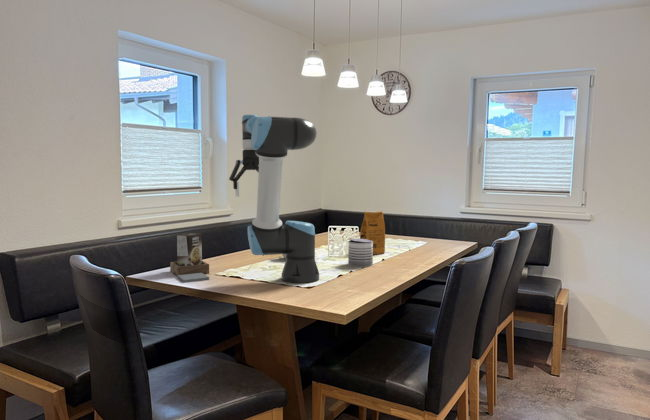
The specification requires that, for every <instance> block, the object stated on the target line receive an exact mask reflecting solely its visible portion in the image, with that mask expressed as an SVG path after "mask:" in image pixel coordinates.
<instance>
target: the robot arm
mask: <svg viewBox="0 0 650 420" xmlns="http://www.w3.org/2000/svg"><path fill="white" fill-rule="evenodd" d="M241 119H242V120H241V126H242V127H241V130H242V131H241V133H242V136H241V137H242V140H241V143H242V149H243V150H242V159H241V160H240V159H236V160H235V164H234V168H233V170H232V171H231V174H230V176H229V178H228V180H229V181H231V182H233V183H232V184H233V187H232V188H233V189H234V191H235V192H234V194H235V197H236V198H237V197H240V182H239V180H240V179H241V178H242V176H243V175H244V173H245V172H246V171H256V172H257V173H258V179H257V180H258V182H257V197H256V198H257V199H256V200H257V202H256V216H255V218H253V219H252V222H251V225H248V226H247V240H248V245H249V248H250V253H251V254H252V255H253V256H263V257H264V256H270V255H271V256H272V255H273V256H274V255H282V254H286V258H285V263H284V266H283V268H282V272H281V280H282V281H284V282H287V283H293V284H294V283H295V284H302V283H303V284H304V283H313V282H317V281H319V279H320V272H319V269H318V266H317V261H316V258H315V257H316V232H315V229H316V227H315V226H314V224H313V223H310V222H306V221H305V222H304V221H299V220H286V221H285V222H284V224H283V221H282V220H281V218H280V207H281V191H282V178H283V177H282V174H283V162H284V159H285V158H286V157H287V156H288V151H289V150H290V151H297V150H303V149H306V148H308V147H309V146H311V145H312V144H313V143H315V140H316V139H317V134H318V133H317V128H316V126H315V124H314V123H312V121H310V120H307V119H306V118H301V117H287V116H270V115H269V116H258V114H257V115H256V114H243V115H242V117H241ZM241 165H243V166H242V167H241ZM240 167H241V169H240ZM239 169H240V170H239Z"/></svg>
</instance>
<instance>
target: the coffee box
mask: <svg viewBox="0 0 650 420" xmlns="http://www.w3.org/2000/svg"><path fill="white" fill-rule="evenodd" d="M202 239H203V238H202V233H201V232H200V233H199V232H198V233H197V232H194V233H193V232H192V233H191V232H190V233H189V232H188V233H183V234H178V235H176V248H177V249H176V251H177V254H176V256H177V260H176V262H177V265H178V266H179V267H182V266H192V265H202V261H203V256H202V255H203V252H202V250H203V247H202V241H203V240H202Z"/></svg>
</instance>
